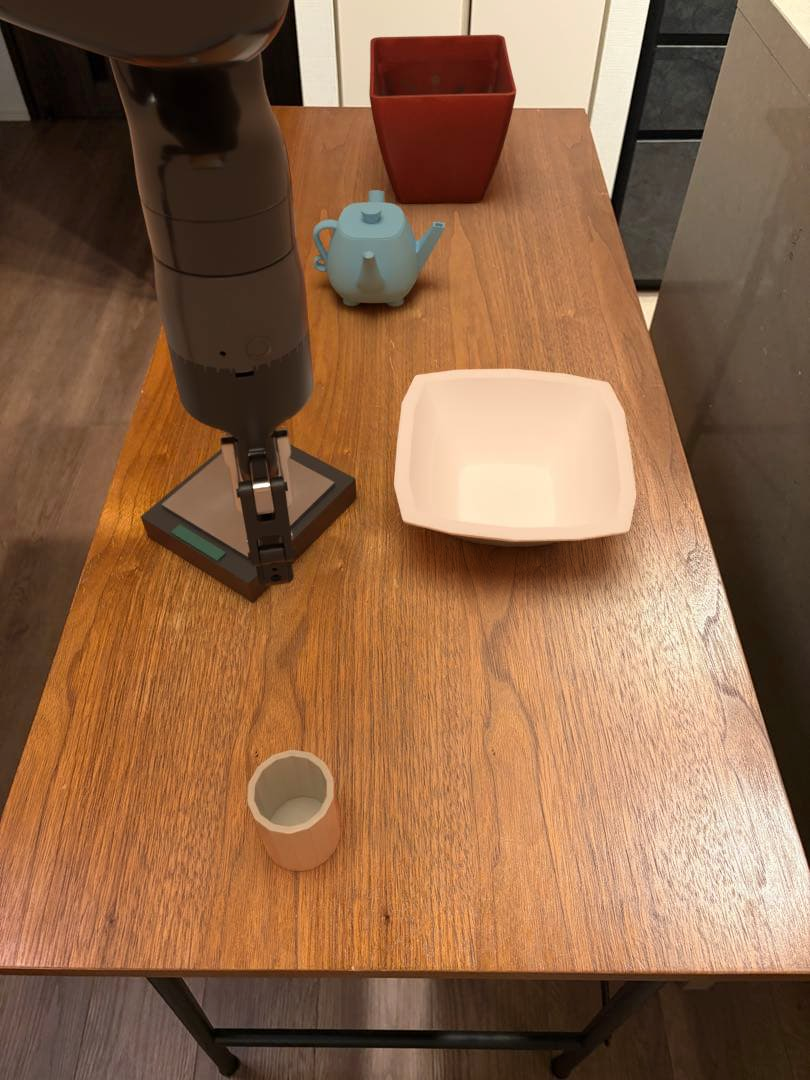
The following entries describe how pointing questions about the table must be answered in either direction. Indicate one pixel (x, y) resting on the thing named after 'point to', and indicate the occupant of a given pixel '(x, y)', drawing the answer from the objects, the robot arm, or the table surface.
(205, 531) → the scale pan
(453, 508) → the bowl
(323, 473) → the scale
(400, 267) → the teapot
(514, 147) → the table surface
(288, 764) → the cup
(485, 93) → the flower pot
